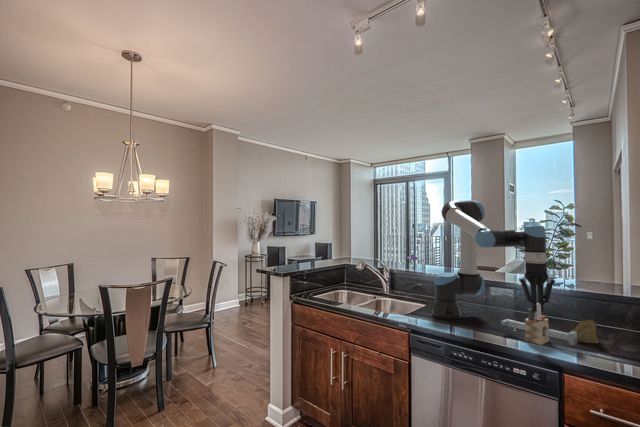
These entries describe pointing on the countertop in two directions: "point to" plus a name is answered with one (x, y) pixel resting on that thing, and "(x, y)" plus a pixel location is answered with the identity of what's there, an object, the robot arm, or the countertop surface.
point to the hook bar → (545, 331)
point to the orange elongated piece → (533, 316)
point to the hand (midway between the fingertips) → (538, 319)
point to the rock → (587, 332)
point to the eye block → (536, 331)
